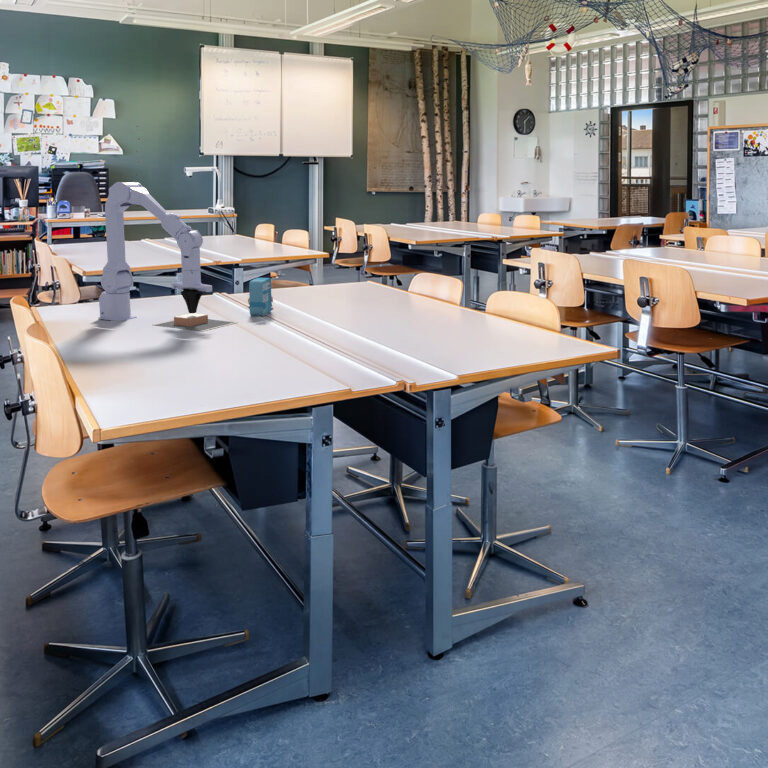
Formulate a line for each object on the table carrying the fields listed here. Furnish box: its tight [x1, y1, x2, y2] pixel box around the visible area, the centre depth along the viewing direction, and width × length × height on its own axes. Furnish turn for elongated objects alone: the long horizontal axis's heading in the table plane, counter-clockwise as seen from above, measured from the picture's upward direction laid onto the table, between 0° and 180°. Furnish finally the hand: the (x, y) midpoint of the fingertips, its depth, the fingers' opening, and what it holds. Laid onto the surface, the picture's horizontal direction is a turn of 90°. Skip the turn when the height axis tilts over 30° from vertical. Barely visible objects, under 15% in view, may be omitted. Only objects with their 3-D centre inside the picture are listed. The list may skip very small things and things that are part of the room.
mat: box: [152, 318, 239, 333], centre depth 261 cm, size 20×18×1 cm
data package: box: [248, 277, 272, 317], centre depth 283 cm, size 12×4×12 cm, turn 173°
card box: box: [173, 312, 209, 326], centre depth 261 cm, size 2×9×6 cm
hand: (192, 312), depth 260 cm, fingers closed
